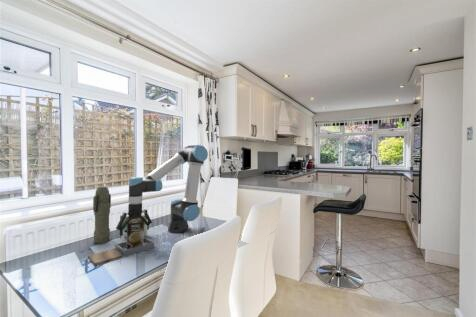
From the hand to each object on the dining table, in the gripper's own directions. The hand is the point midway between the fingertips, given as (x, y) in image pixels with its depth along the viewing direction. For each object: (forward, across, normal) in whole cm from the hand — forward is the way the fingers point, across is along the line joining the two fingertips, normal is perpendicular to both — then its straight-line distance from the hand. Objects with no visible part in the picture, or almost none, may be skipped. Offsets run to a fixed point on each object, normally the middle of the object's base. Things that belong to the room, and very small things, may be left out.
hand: (134, 238), depth 134 cm
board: (+6, +16, +1) cm, 17 cm away
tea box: (+6, -8, -22) cm, 24 cm away
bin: (+6, 0, 0) cm, 6 cm away
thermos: (+7, +10, -27) cm, 29 cm away
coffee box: (+6, 0, 0) cm, 6 cm away
